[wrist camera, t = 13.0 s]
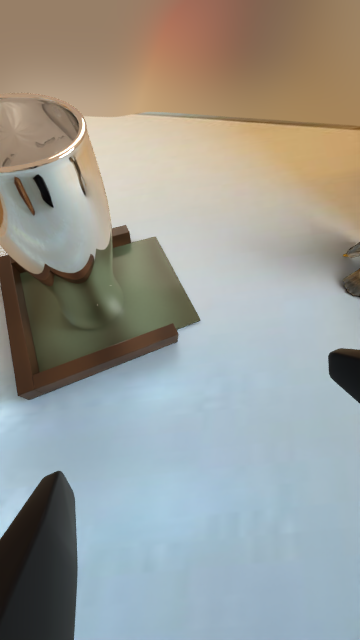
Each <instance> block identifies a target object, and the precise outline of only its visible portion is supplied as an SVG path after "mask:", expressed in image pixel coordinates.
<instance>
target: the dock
mask: <svg viewBox="0 0 360 640" xmlns="http://www.w3.org/2000/svg"><path fill="white" fill-rule="evenodd" d="M112 237H113V273H114V276H115V278H116V280H117V282H118V283H119V285H120V287H121V288H122V291H123V294H124V306H123V309H122V311H121V313H120V314H119V316H118V317H117V318H116V319H115V320H114V321H113V322H111V323H110V324H108V325H106V326H104V327H101V328H98V329H90V330H87V329H80V328H77V327H75V326H73V325H71V324H70V323H68V322H67V321H66V320H65V318H64V317H63V315H62V313H61V311H60V308H59V305H58V302H57V300H56V298H55V296H54V295H53V294H52V293H51V292H50V291H49V290H48V289H47V288H46V287H44V286H43V285H42V284H41V283H40V282H38V281H37V280H36V279H35V278H34V277H32V276H31V275H30V274H29V273H28V272H27V271H25V270H24V269H23V268H22V267H21V266H20V265H19V264H18V263H17V262H16V261H15V260H13V259H12V258H11V257H10V256H9V255H6V256H2V257H0V283H1V289H2V296H3V302H4V309H5V315H6V322H7V328H8V335H9V341H10V348H11V354H12V361H13V367H14V373H15V380H16V386H17V393H18V396H20V397H23V398H25V399H28V400H30V399H33V398H36V397H38V396H41V395H43V394H46V393H48V392H51V391H53V390H56V389H58V388H61V387H64V386H66V385H69V384H71V383H74V382H76V381H79V380H81V379H84V378H86V377H89V376H92V375H94V374H97V373H99V372H102V371H104V370H107V369H109V368H112V367H114V366H117V365H119V364H122V363H125V362H127V361H130V360H132V359H135V358H137V357H140V356H142V355H145V354H147V353H150V352H153V351H155V350H158V349H160V348H163V347H165V346H168V345H170V344H173V343H175V342H177V341H178V332H177V329H179V328H182V327H185V326H187V325H190V324H193V323H195V322H198V321H200V318H199V316H198V314H197V312H196V311H195V309H194V307H193V305H192V303H191V301H190V299H189V298H188V296H187V294H186V292H185V290H184V288H183V287H182V285H181V283H180V281H179V279H178V277H177V275H176V274H175V272H174V270H173V268H172V266H171V264H170V262H169V261H168V259H167V257H166V255H165V253H164V251H163V250H162V248H161V246H160V244H159V242H158V240H157V238H156V237H151V238H148V239H144V240H140V241H137V242H133V243H131V240H130V234H129V231H128V228H127V226H126V225H124V226H120V227H116V228H112Z"/></svg>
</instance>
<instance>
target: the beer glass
mask: <svg viewBox="0 0 360 640" xmlns="http://www.w3.org/2000/svg"><path fill="white" fill-rule="evenodd" d="M0 246H1V247H2V248H3V249H4V251H5V252H6V253H7V254H8V255H9V256H10V257H11V258H12V259H13V260H15V261H16V262H17V263H18V264H19V265H20V266H21V267H22V268H23V269H24V270H25V271H27V272H28V273H29V274H30V275H31V276H32V277H34V278H35V279H36V280H37V281H38V282H40V283H41V284H42V285H43V286H44V287H46V288H47V289H48V290H49V291H50V292H51V293H52V294H53V295H54V296H55V298H56V300H57V302H58V305H59V308H60V311H61V313H62V315H63V317H64V318H65V320H66V321H67V322H68V323H70V324H71V325H73V326H75V327H77V328H80V329H87V330H90V329H98V328H101V327H104V326H106V325H108V324H110V323H111V322H113V321H114V320H115V319H116V318H117V317H118V316H119V314H120V313H121V311H122V309H123V306H124V294H123V291H122V288H121V287H120V285H119V283H118V282H117V280H116V278H115V276H114V273H113V237H112V224H111V216H110V210H109V205H108V200H107V196H106V192H105V188H104V184H103V180H102V177H101V173H100V170H99V167H98V163H97V160H96V157H95V154H94V151H93V147H92V144H91V141H90V138H89V135H88V131H87V126H86V122H85V119H84V117H83V115H82V114H81V113H80V112H79V111H78V110H77V109H76V108H75V107H73V106H72V105H70V104H68V103H66V102H64V101H62V100H59V99H56V98H53V97H49V96H45V95H39V94H29V93H11V94H10V93H9V94H0Z"/></svg>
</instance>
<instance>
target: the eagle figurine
mask: <svg viewBox="0 0 360 640" xmlns="http://www.w3.org/2000/svg"><path fill="white" fill-rule="evenodd" d="M343 256H344V257H350V258H353V257H357V256H360V242H359V243H358V244H356V245H355V246H353V247H352V248H350V249H349V251H348V252H347V253H346V254H344V255H343ZM343 282H344V283H345V285H344V287H345V288H347V291H348V293H351V294H352V295H353V296H357V295H359V297H360V269H359V270H357V271H355V272H354V273H352V274H350V275H349V276H347V277H346V278H345V279H343Z"/></svg>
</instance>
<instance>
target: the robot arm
mask: <svg viewBox="0 0 360 640" xmlns="http://www.w3.org/2000/svg"><path fill="white" fill-rule="evenodd" d="M328 361H329V374H330V377H331V378H332V379H333V380H334V381H335V382H336V383H337V384H338V385H339V386H341V387H342V388H343V389H344V390H345V391H346V392H347V393H348V394H350V395H351V396H352V397H353V398H354V399H355V400H356V401H358V402H359V403H360V350H355V349H343V348H340V349H337V350H335V351H332V352H331V353H329V356H328ZM76 592H77V538H76V514H75V497H74V493H73V490H72V489H71V487H70V485H69V483H68V481H67V479H66V478H65V476H64V474H63V473H62V472H61V471H57V472H54V473H52V474H50V475H47V476H46V477H44V478H43V479H42V480H41V482H40V483H39V484H38V486H37V487H36V489H35V490H34V492H33V493H32V495H31V496H30V497H29V499H28V500H27V502H26V503H25V505H24V506H23V507H22V509H21V510H20V512H19V513H18V515H17V516H16V518H15V519H14V520H13V522H12V523H11V525H10V526H9V528H8V529H7V531H6V532H5V533H4V535H3V536H2V538H1V539H0V640H74V629H75V610H76Z"/></svg>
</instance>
